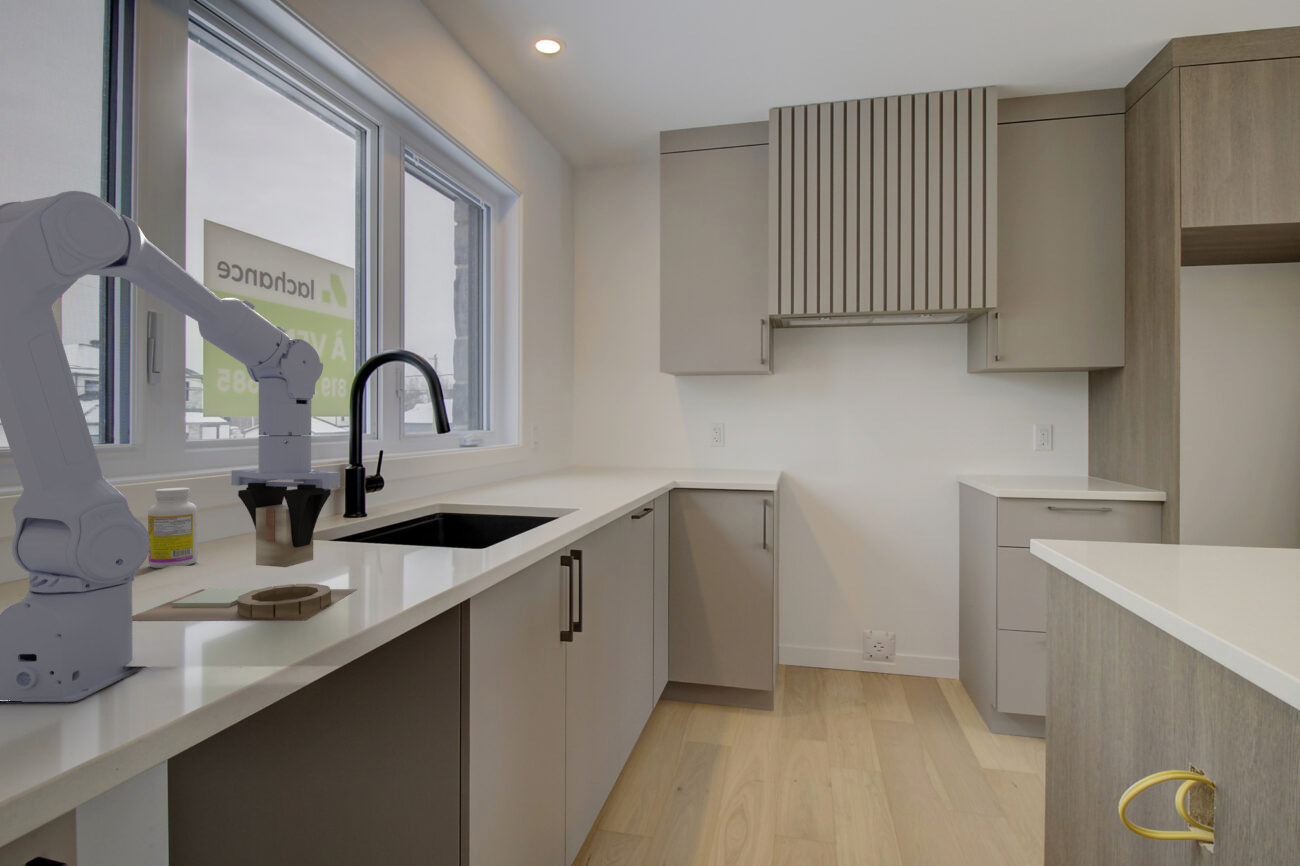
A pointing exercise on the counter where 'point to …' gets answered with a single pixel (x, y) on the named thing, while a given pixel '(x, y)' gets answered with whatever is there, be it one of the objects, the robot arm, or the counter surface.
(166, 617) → the base board
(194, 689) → the counter surface
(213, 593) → the sage pad
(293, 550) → the peg
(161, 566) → the supplement bottle
